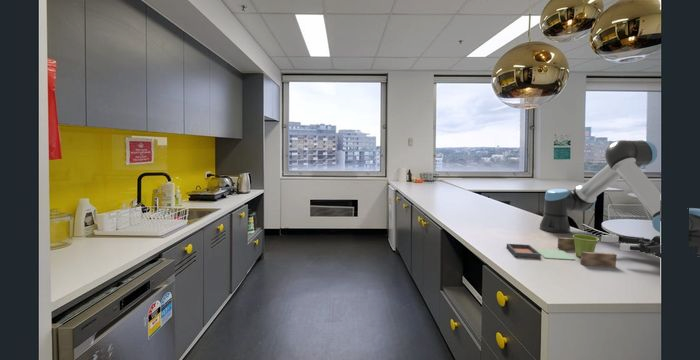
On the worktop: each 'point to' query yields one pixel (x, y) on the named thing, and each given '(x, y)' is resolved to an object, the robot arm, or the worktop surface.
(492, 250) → the worktop surface
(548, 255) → the pad
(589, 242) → the plant pot
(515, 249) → the tray
